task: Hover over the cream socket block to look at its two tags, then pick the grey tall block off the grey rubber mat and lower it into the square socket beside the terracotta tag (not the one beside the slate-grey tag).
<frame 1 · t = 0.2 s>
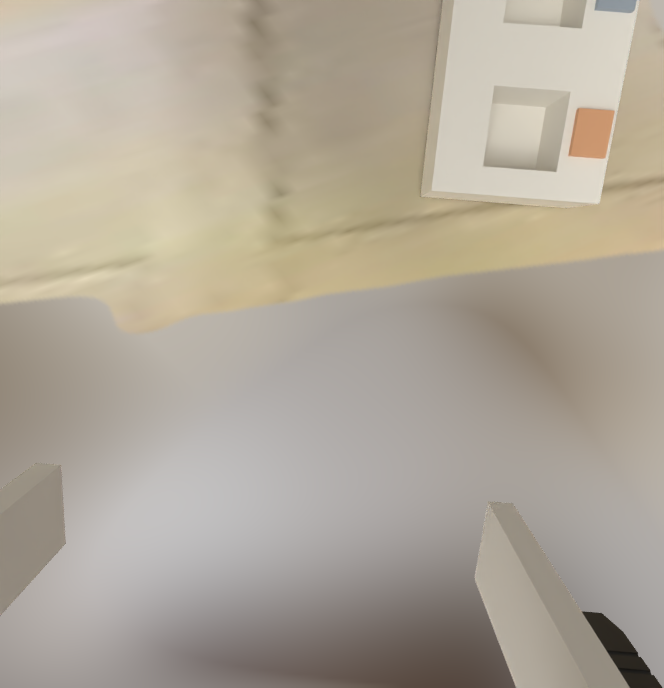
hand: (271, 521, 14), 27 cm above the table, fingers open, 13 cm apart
socket block: (511, 81, 36), on the table
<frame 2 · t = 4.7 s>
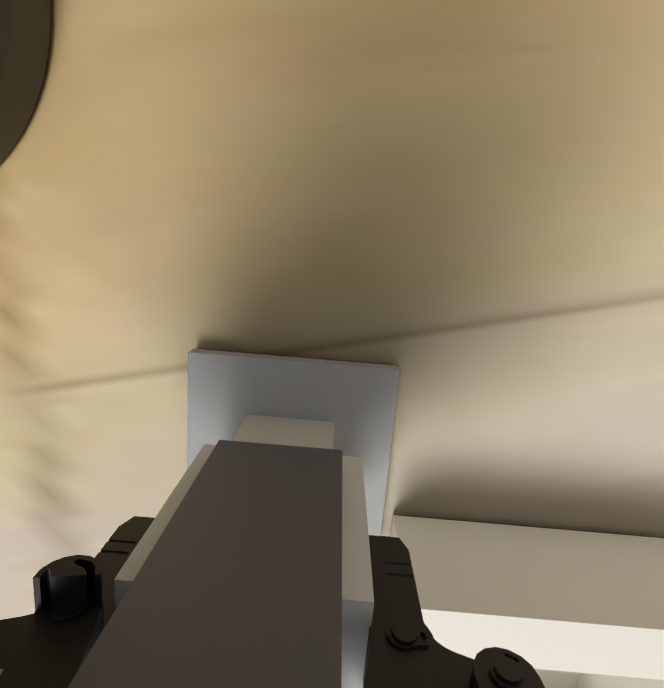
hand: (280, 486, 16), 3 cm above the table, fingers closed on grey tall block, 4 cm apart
mat: (289, 451, 19), on the table
grey tall block: (288, 458, 18), point 1 cm above the table, touching gripper, mat
when the fingers open (6 cm above the table, at t = 8.8 s): grey tall block drops 3 cm, resting on socket block.
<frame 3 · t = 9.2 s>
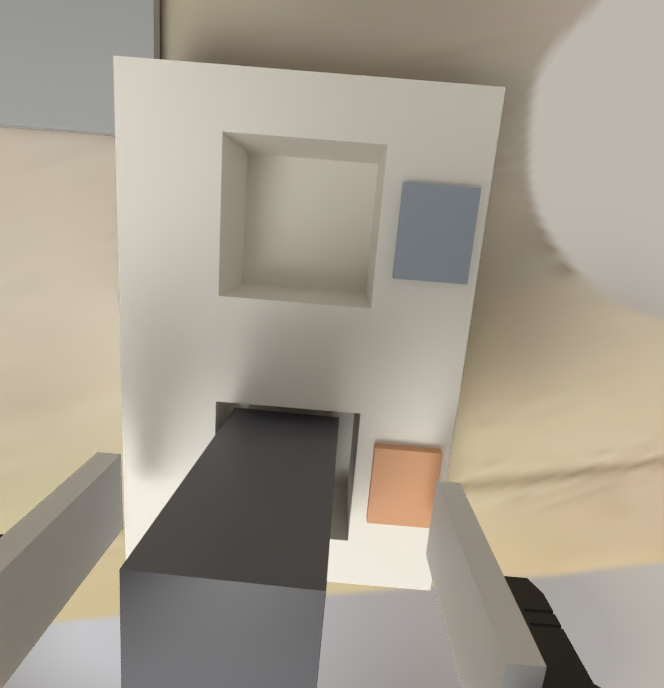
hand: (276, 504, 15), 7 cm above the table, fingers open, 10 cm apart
socket block: (303, 328, 21), on the table
mat: (59, 24, 18), on the table
grey tall block: (293, 430, 21), point 1 cm above the table, touching socket block
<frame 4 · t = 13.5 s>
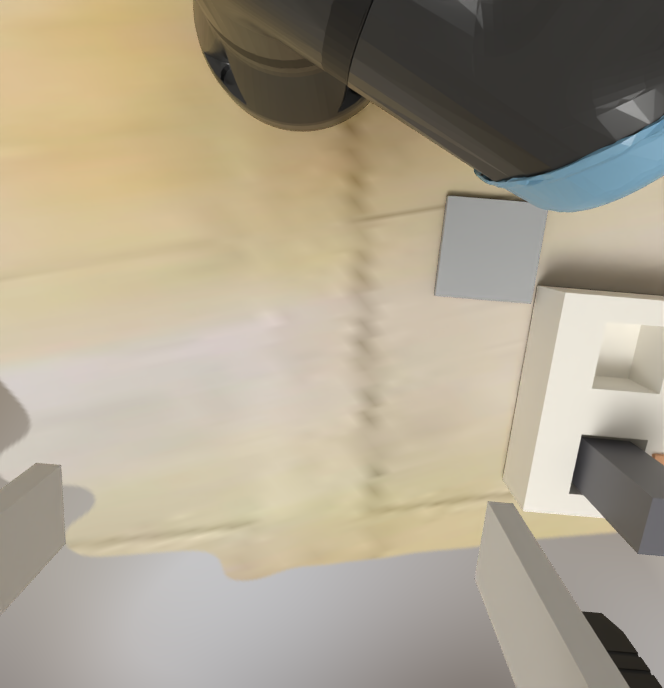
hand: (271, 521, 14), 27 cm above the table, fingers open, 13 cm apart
socket block: (587, 393, 41), on the table
mat: (488, 250, 38), on the table
grey tall block: (581, 445, 41), point 1 cm above the table, touching socket block
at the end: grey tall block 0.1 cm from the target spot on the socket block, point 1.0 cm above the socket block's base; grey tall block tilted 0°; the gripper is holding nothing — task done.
